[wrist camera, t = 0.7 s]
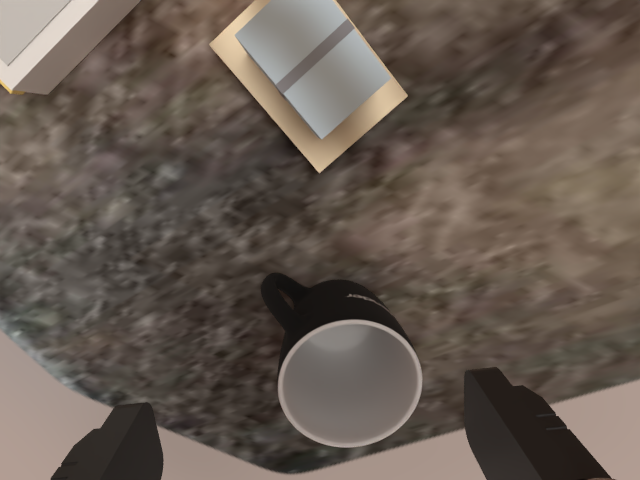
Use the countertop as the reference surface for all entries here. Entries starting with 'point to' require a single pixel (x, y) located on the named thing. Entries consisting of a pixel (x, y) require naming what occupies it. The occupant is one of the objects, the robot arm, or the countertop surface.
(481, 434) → the robot arm
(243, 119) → the countertop surface
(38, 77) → the dock
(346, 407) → the mug
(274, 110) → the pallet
